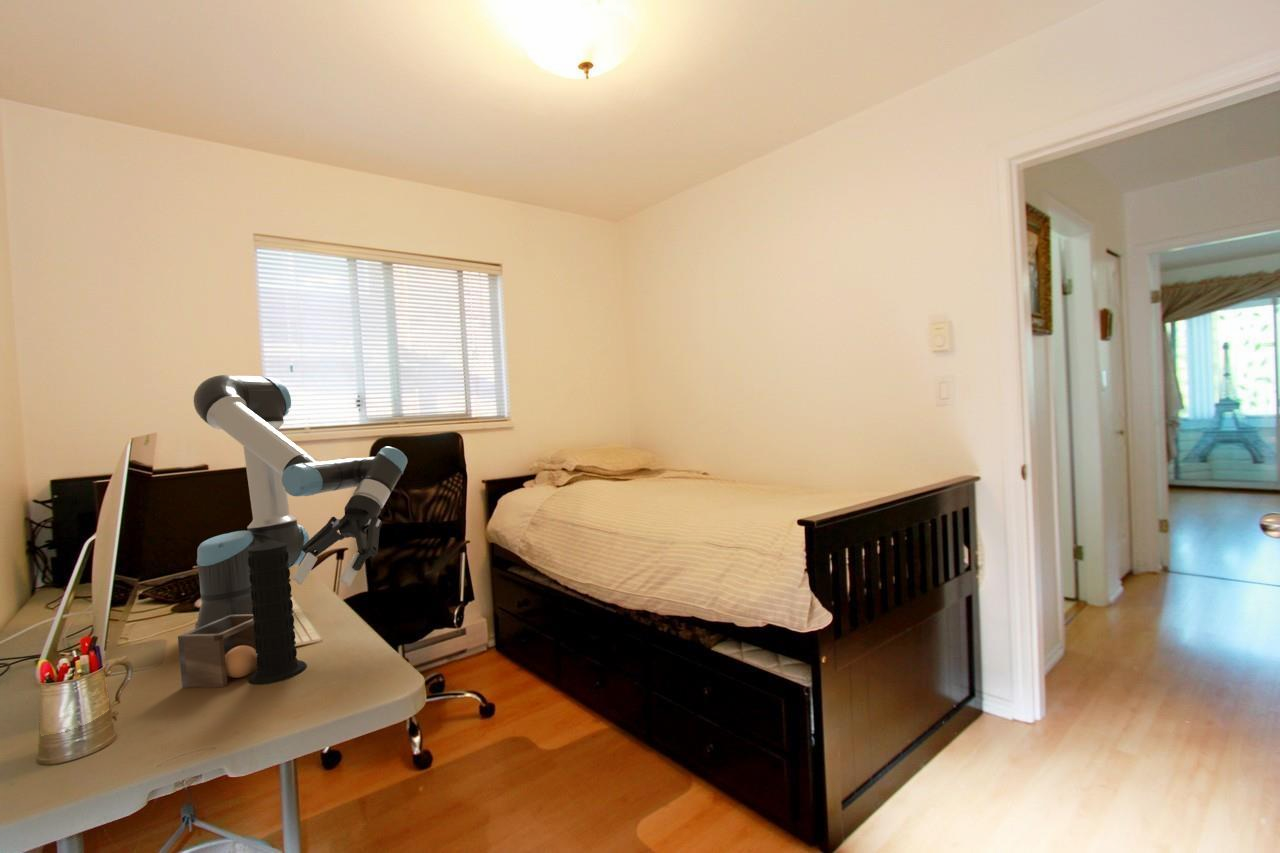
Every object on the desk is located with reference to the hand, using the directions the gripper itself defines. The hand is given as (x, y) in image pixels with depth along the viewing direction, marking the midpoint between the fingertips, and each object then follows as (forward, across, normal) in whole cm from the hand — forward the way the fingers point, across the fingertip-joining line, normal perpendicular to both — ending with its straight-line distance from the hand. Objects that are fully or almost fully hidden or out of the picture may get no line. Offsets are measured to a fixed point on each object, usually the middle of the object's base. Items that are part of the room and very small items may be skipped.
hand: (320, 582), depth 127 cm
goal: (+20, +11, -1) cm, 23 cm away
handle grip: (+19, 0, -2) cm, 19 cm away
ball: (+18, +6, +2) cm, 20 cm away
